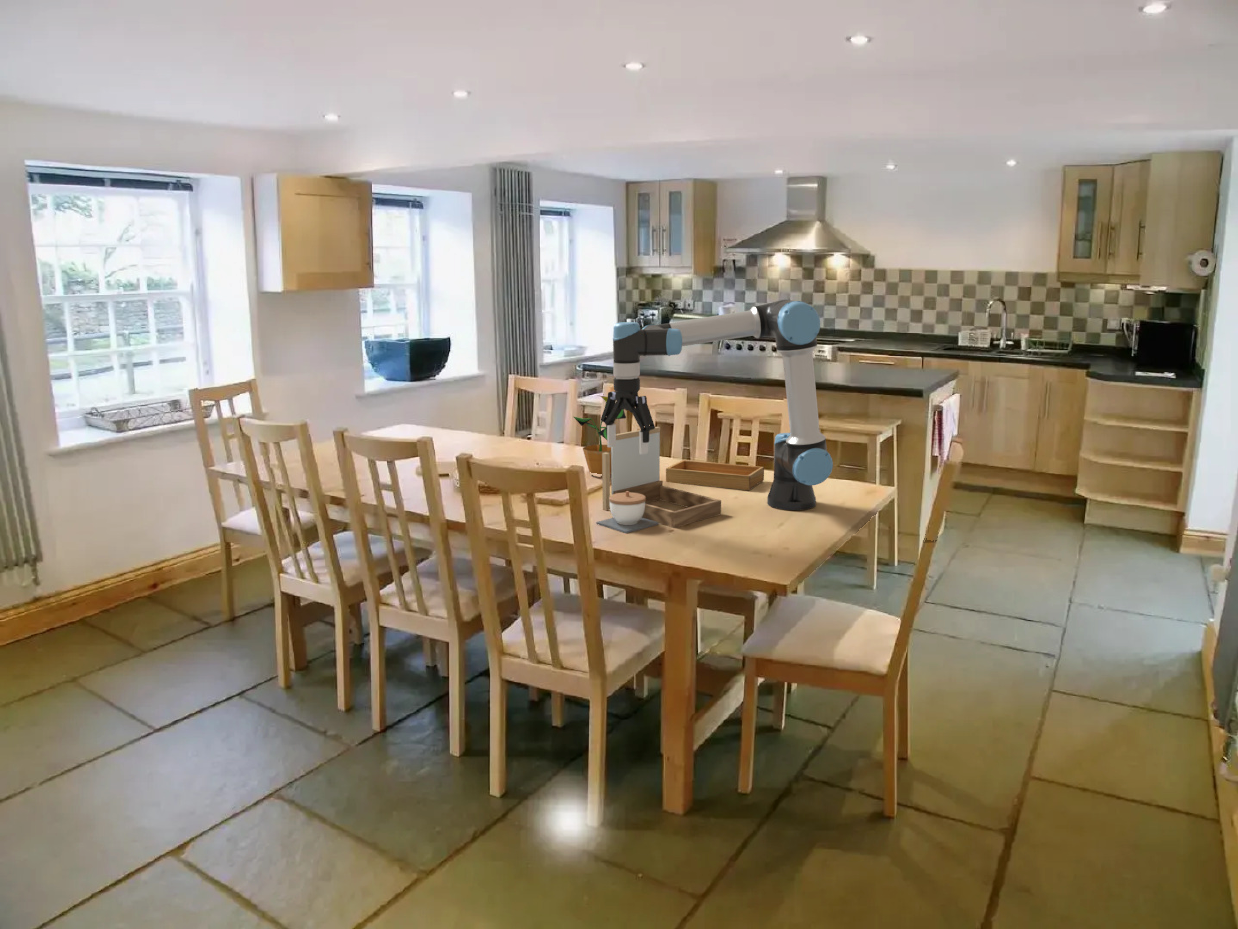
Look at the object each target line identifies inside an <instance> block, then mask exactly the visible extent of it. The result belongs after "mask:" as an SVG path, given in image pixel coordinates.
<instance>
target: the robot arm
mask: <svg viewBox="0 0 1238 929" xmlns="http://www.w3.org/2000/svg"><path fill="white" fill-rule="evenodd" d="M820 329H821V318H820V315H819V313H818V311H817V310H816V309H815V308H814V307H813V306H812V305H811V304H809V303H806V302H805V301H802V300H791V299H781V300H780V299H779V300H776V301H772V302H769V303H766V304H765V303H764V304H760V305H754V306H752V307H751V308H750V309H749V310H744V311H743V310H742V311H736V312H732V313H730V312H729V313H726V314H719V315H718V314H717V315H713V316H712V315H711V316H705V317H700V318H699V317H698V318H692V319H691V318H690V319H685V320H679V321H672V322H667V323H662V324H654V323H652V324H648V325H645V326H643V328H641V327H640V323H639V322H635V321H633V322H632V321H631V322H630V321H625V322H624V321H621V322H616V323H615V324H614V325H613V334H612V336H613V337H612V346H613V347H612V348H613V349H612V350H613V352H612V353H613V364H612V365H613V369H612V370H613V376H614V378H613V391H607V392H608V393H607V397H608V399H607V402H606V401H605V404H606V405H604V409H603V411H602V415H601V417H600V423H601V422H602V423H604V425H605V427H606V434H607V440H606V441H607V442H606V445H607V447H614V446H616V434H617V432H616V431H617V430H616V429H617V428H616V426H617V424H616V423H615V421H616V420H617V419H616V418H617V417H618V415H619V414H620V412H621V410H622V409H624V411H629V412H630V413H632V415H633V417H634V419H635V421H636V423H637V425H638V426H639V428H640V429H639V430H641V431H639V454H645V453H648V442H649V431H650V430H652V429H655V427H656V425H655V424H654V420H653V417H652V414H651V411H650V408H649V405H648V401H647V399H648V398H647V396H646V395H640V396H639V391H640V389H641V378H640V377H639V376H640V375H641V374H640V373H641V372H640V371H641V370H640V369H641V364H640V362H641V357H646V356H649V357H650V356H651V357H652V356H653V357H654V356H668V357H670V356H678V355H680V354H681V352H682V350H683V347H685V346H693V345H694V346H695V345H700V344H707V343H713V342H720V341H721V342H722V341H726V340H733V339H740V338H747V337H751V336H753V337H754V338H756V339H761V338H774V339H775V344H776V352H777V353H779V354H780V355H781V356H782V362H783V363H782V364H783V365H782V366H783V373H784V383H785V385H784V386H785V393H786V394H785V395H786V404H787V405H786V406H787V413H788V423H789V432H782V433H781V432H780V433H777V434H776V435H775V437H774V443H773V444H774V451H773V452H774V453H773V455H774V457H773V480H772V483H771V486H770V489H769V491H768V494H767V502H766V504H767V506H769V507H771V508H775V509H779V510H785V511H805V510H810V509H813V508H815V507H816V503H817V498H816V495H815V492H814V488H813V487H814V486H817V485H820V484H822V483H824V482H825V481H826V480H827V479H828V478H829V477H830V475H831V474H832V471H833V468H834V462H833V458H832V457H831V454H830V453H829V452H828V451H827V450H828V447H827V442H826V435H824V434H823V433H822V432H821V429H820V423H819V422H820V419H819V410H818V400H817V399H818V398H817V389H816V388H817V387H816V378H815V367H814V356H813V354H814V353H813V352H814V351H815V349H816V348H817V347H818V340H817V336H818V334H819V333H820Z"/></svg>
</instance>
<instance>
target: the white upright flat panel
mask: <svg viewBox="0 0 1238 929" xmlns="http://www.w3.org/2000/svg"><path fill="white" fill-rule="evenodd" d="M639 431H641V429H639V430H631V431H627V432H621V433H616V446H614V447H611V475H610V456H609V453H602V477H601V478H602V481H601V482H602V510H604V511H610V501H609V497H610V496H611V495H613V491H618V490H622V489H626V488H630V487H634V486H639V485H643V484H647V483H651V482H656V481H661V480H660V473H661V472H660V471H661V465H660V463H661V462H660V459H661V458H660V457H661V456H660V451H661V450H660V448H661V447H660V443H661V441H660V439H661V438H660V437H661V436H660V433H661V427H660V426H655V429H652V430H650V431H649V442H648V453H645V454H639ZM610 479H611V480H610ZM610 483H611V484H610Z"/></svg>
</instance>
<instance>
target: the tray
mask: <svg viewBox="0 0 1238 929" xmlns="http://www.w3.org/2000/svg"><path fill="white" fill-rule="evenodd" d="M764 480H765V467H764V466H759V465H757V466H756V465H743V464H733V463H721V462H713V461H712V462H710V461H700V460H690V459H688V460H687V459H683V460H680V461H678V462H676V463H674V464H672V465H670V466H668V467H666V468H665V483H672V484H673V483H674V484H683V485H692V486H693V485H694V486H702V487H703V486H704V487H713V488H714V487H715V488H721V489H722V488H723V489H732V490H733V489H734V490H743V491H751V490H752V489H754V487H757V485H759V484H761V483H762V482H763V481H764Z"/></svg>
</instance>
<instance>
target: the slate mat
mask: <svg viewBox="0 0 1238 929" xmlns="http://www.w3.org/2000/svg"><path fill="white" fill-rule="evenodd" d="M598 524H599V526H602V527H605V528H609V529H611V530H615V531H617V532H621V533H624V534H628V533H633V532H636V531H639V530H644V529H648V528H650V527H654V526H657V525H659V522H656V521H652V520H649V519H645V518H641V519H640V520H639V521H638V523H637V524H633V525H621V524H618V523H617V521H616V520H615V519H614V518H613V517H610V518H607V519H603V520H599V521H596V525H598Z"/></svg>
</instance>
